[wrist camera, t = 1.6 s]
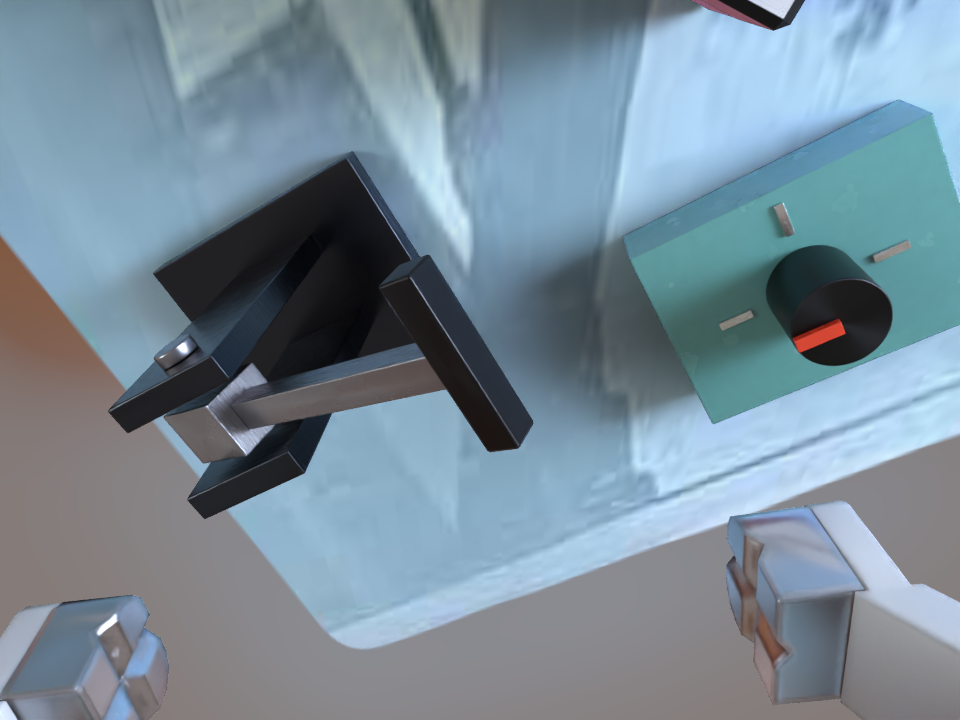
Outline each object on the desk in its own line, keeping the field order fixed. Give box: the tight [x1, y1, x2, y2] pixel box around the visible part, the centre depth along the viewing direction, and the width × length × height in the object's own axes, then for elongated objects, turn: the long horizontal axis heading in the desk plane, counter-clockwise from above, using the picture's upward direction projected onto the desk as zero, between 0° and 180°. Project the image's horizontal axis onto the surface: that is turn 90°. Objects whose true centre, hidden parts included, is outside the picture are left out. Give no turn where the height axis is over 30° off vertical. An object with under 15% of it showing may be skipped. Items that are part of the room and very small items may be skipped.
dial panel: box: [623, 100, 960, 424], centre depth 32 cm, size 12×9×3 cm
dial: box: [766, 245, 893, 366], centre depth 29 cm, size 4×4×4 cm
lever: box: [164, 255, 533, 463], centre depth 23 cm, size 13×6×2 cm, turn 119°
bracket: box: [108, 151, 419, 519], centre depth 31 cm, size 11×9×13 cm
